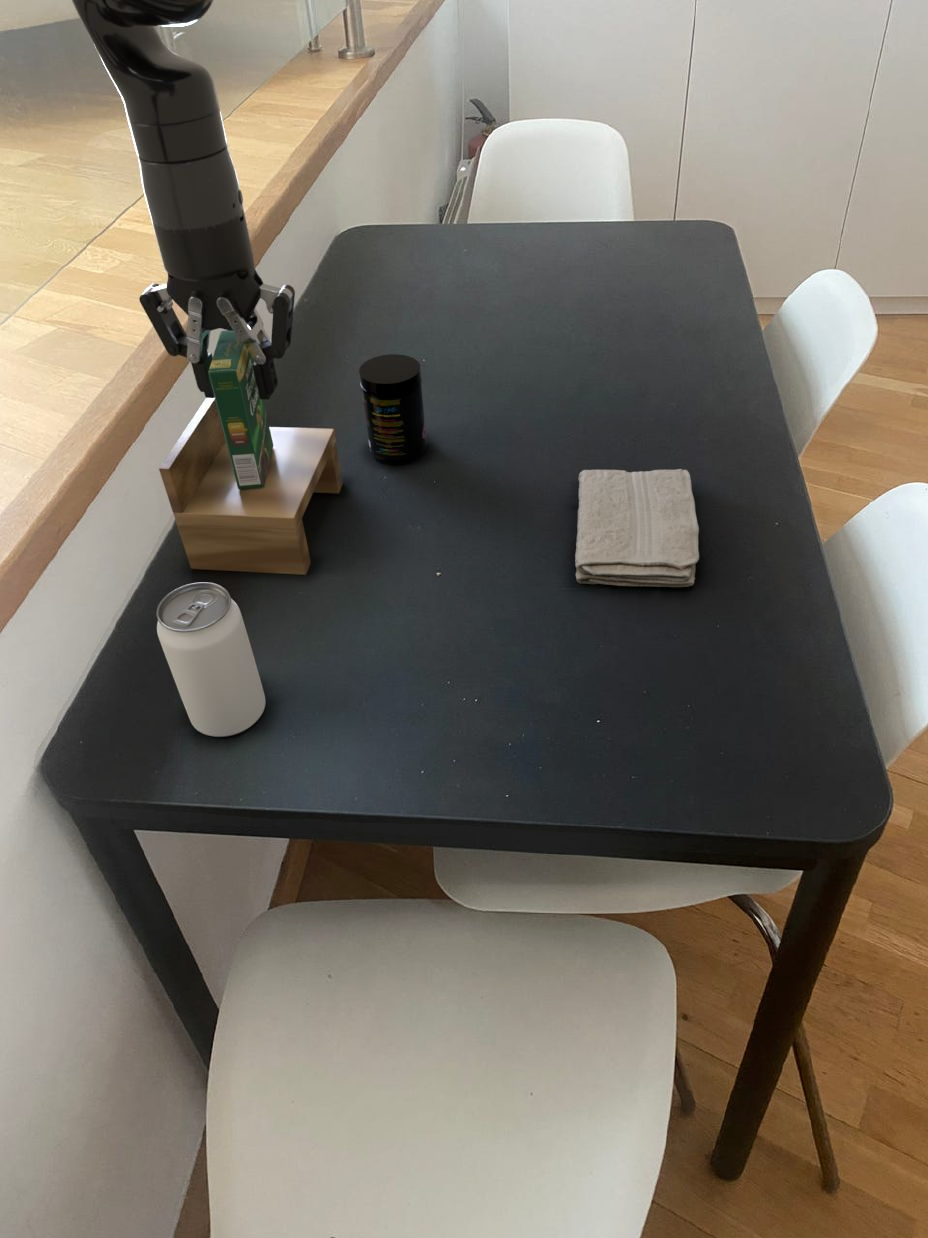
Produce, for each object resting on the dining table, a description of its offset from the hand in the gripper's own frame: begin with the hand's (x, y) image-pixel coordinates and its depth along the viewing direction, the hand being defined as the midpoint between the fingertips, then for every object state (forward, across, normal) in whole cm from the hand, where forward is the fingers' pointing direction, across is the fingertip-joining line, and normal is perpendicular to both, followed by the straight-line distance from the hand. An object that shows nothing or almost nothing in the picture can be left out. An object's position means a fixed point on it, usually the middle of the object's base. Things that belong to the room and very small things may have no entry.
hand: (240, 393), depth 87 cm
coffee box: (+9, 0, 0) cm, 9 cm away
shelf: (+15, 0, 0) cm, 15 cm away
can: (+16, +4, -26) cm, 31 cm away
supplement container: (+16, +11, +15) cm, 24 cm away
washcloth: (+16, +38, +1) cm, 41 cm away
